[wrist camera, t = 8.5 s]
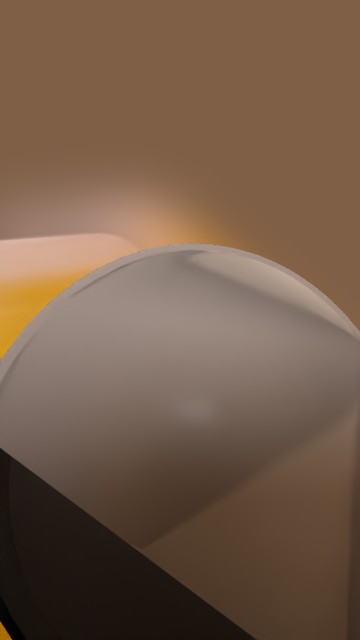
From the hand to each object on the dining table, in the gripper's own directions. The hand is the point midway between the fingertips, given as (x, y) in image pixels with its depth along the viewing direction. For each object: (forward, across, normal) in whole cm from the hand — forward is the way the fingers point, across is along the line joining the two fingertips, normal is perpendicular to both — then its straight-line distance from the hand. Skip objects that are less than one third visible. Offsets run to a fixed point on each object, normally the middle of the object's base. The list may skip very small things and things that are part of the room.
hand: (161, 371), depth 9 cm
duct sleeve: (+4, 0, +6) cm, 7 cm away
